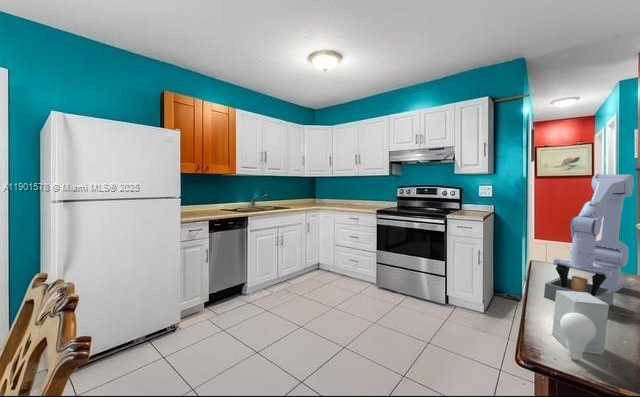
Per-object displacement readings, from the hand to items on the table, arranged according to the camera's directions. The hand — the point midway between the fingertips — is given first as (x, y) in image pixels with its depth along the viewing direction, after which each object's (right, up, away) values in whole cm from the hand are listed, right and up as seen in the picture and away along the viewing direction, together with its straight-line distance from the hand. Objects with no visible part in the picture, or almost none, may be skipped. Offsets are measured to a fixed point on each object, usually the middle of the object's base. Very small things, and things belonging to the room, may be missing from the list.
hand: (578, 291), depth 96 cm
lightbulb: (-29, -6, -31) cm, 43 cm away
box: (0, -3, 0) cm, 3 cm away
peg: (0, -4, 0) cm, 3 cm away
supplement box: (-23, -6, -25) cm, 35 cm away
